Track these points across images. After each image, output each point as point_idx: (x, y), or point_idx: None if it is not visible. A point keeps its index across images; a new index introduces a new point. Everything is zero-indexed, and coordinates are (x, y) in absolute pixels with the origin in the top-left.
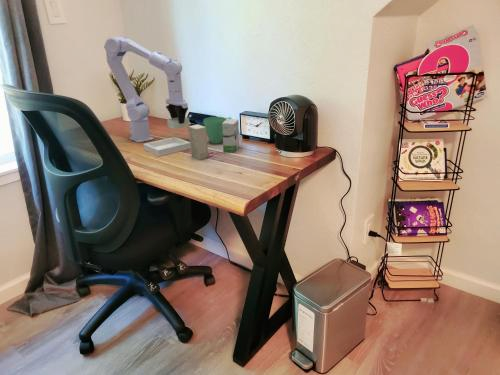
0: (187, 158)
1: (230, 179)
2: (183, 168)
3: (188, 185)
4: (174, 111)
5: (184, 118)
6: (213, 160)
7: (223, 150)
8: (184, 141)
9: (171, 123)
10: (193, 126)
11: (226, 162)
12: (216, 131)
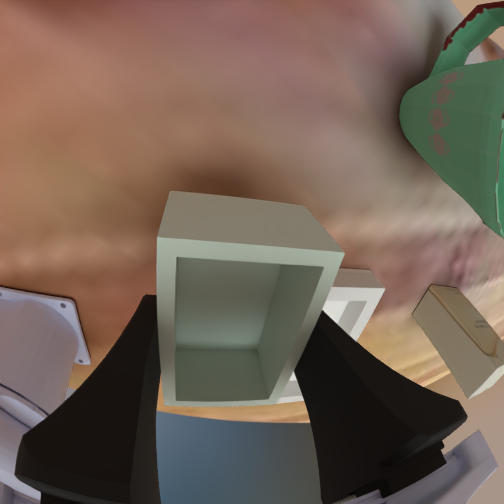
0: (406, 332)
1: (495, 320)
2: (420, 361)
3: (446, 373)
4: (149, 421)
5: (343, 334)
6: (469, 291)
7: (486, 224)
8: (348, 299)
9: (239, 384)
10: (483, 387)
11: (492, 277)
12: (499, 182)
